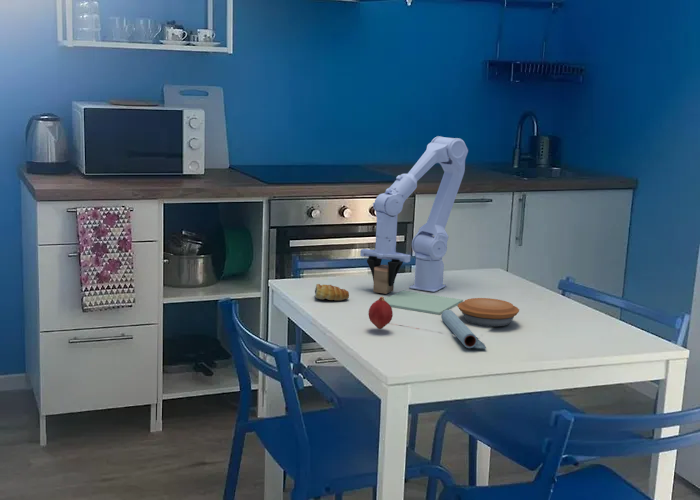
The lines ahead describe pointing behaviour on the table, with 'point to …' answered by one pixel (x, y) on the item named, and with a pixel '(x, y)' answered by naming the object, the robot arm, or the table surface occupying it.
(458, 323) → the aluminum foil
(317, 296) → the pastry
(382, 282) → the walnut block
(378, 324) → the onion
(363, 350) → the table surface
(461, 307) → the pie
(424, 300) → the sage mat
